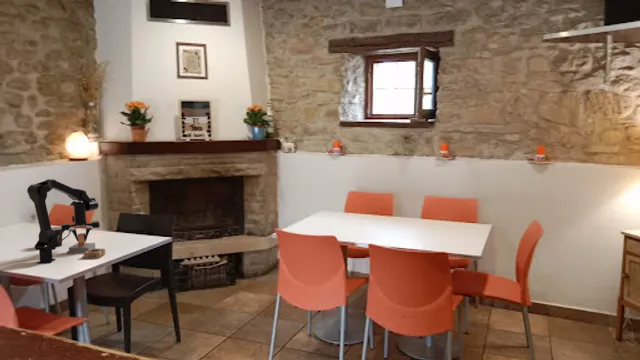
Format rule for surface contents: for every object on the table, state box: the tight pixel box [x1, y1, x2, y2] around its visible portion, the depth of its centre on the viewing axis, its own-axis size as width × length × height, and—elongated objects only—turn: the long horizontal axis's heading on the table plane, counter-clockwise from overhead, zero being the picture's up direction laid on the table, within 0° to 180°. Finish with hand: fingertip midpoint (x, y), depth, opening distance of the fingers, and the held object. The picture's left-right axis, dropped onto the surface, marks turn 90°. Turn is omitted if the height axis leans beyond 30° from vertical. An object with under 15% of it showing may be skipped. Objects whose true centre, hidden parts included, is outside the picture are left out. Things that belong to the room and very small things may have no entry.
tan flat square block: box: [83, 248, 106, 260], centre depth 267 cm, size 8×8×3 cm
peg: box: [77, 232, 87, 246], centre depth 277 cm, size 3×3×8 cm
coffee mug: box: [51, 226, 71, 248], centre depth 288 cm, size 12×9×10 cm
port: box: [68, 242, 96, 254], centre depth 278 cm, size 10×10×3 cm
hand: (81, 241), depth 277 cm, fingers closed on peg, 4 cm apart
